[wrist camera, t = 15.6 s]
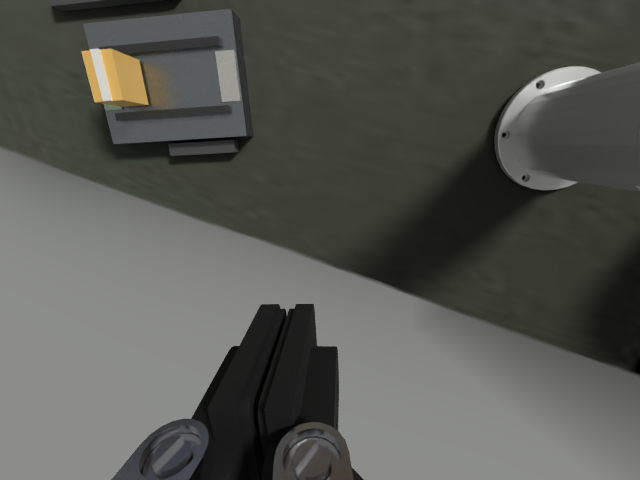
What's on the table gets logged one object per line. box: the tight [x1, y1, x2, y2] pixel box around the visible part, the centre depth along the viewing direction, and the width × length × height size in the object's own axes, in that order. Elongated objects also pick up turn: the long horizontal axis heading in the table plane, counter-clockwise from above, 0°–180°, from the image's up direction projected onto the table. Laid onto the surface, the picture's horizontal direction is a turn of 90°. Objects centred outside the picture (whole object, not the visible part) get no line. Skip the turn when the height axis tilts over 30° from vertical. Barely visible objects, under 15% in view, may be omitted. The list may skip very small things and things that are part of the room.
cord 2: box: [168, 140, 239, 156], centre depth 36 cm, size 8×1×1 cm, turn 93°
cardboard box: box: [81, 48, 149, 107], centre depth 30 cm, size 3×4×4 cm
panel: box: [83, 9, 253, 144], centre depth 33 cm, size 16×12×3 cm
